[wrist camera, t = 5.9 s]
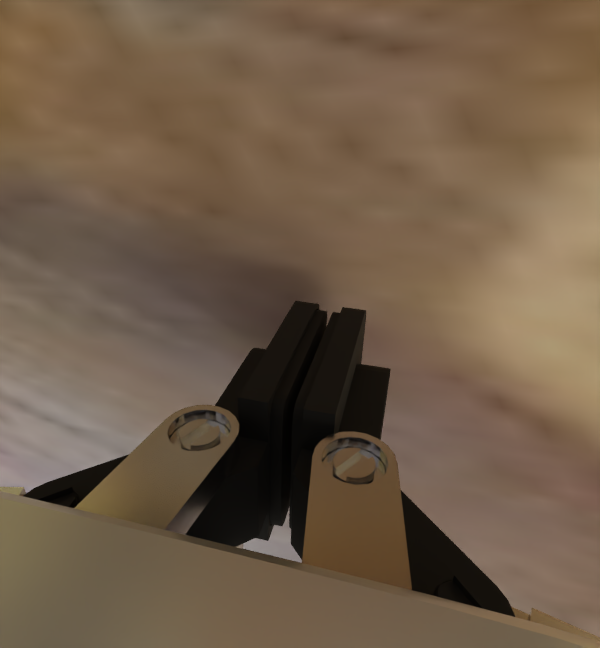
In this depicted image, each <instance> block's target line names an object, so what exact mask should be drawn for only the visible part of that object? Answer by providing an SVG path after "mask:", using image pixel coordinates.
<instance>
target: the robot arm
mask: <svg viewBox="0 0 600 648" xmlns="http://www.w3.org/2000/svg"><path fill="white" fill-rule="evenodd" d="M365 322H366V310H359V309H352V308H344V307H343V308H342V310H341V313H336V312H333V313H332V315H331V318H330V320H329V323H328V325H327V327H326V324H327V311H321V310H320V309H319V304H314V303H307V302H299V301H295V302H294V304H293V306H292V307H291V309H290V311H289V312H288V314H287V316H286V318H285V319H284V321H283V323H282V324H281V326H280V328H279V329H278V331H277V333H276V334H275V336H274V338H273V339H272V341H271V343H270V344H269V346H268V348H267V349H259V348H253V349H252V350H251V351H250V353H249V354H248V356H247V357H246V359H245V360H244V362H243V363H242V365H241V366H240V368H239V369H238V371H237V373H236V374H235V376H234V377H233V379H232V380H231V382H230V383H229V385H228V386H227V388H226V389H225V391H224V393H223V394H222V396H221V397H220V399H219V400H218V402H217V403H216V405H215V406H212V405H196V406H192V407H187V408H184V409H182V410H179V411H177V412H175V413H173V414H172V415H171V416H169V417H168V418H167V419H166V420H165V421H164V422H162V423H161V424H160V425H159V426H158V427H157V428H156V429H155V430H154V431H153V432H152V433H151V434H150V435H149V436H148V437H147V438H146V439H145V440H144V441H143V442H142V443H141V444H140V445H139V446H138V447H137V448H136V449H135V450H134V451H133V452H132V453H131V454H129V455H126V456H123V457H120V458H117V459H114V460H112V461H109V462H106V463H103V464H100V465H97V466H94V467H91V468H88V469H85V470H82V471H79V472H76V473H73V474H70V475H67V476H65V477H62V478H59V479H56V480H53V481H50V482H47V483H45V484H43V485H40V486H38V487H36V488H34V489H32V490H31V491H30V492H28V493H27V494H26V492H25V489H24V487H0V648H600V637H597V636H595V635H593V634H590V633H588V632H586V631H584V630H581V629H579V628H577V627H575V626H572V625H570V624H568V623H566V622H563V621H561V620H559V619H557V618H554V617H552V616H550V615H547V614H545V613H543V612H541V611H538V610H536V609H534V608H532V609H531V611H530V614H526V613H524V612H522V611H520V610H518V609H515V608H513V607H511V606H510V604H509V601H508V600H507V598H506V597H505V596H504V595H503V593H502V592H501V591H500V590H499V588H498V587H497V586H496V585H495V584H494V583H493V582H492V581H491V580H490V579H489V578H488V577H487V576H486V575H485V574H484V573H483V572H482V571H481V570H480V569H479V568H478V567H477V566H476V565H475V564H474V563H473V562H472V561H471V560H470V559H469V558H468V557H467V556H466V555H465V554H464V553H463V552H462V551H461V550H460V549H459V548H458V547H457V546H456V545H455V544H454V543H453V542H452V541H451V540H450V539H449V538H448V537H447V536H446V535H445V534H444V533H443V532H442V531H441V530H440V529H439V528H438V527H437V526H436V525H435V524H434V523H433V522H432V521H431V520H430V519H429V518H428V517H427V516H426V515H425V514H424V513H423V512H422V511H421V510H420V509H419V508H418V507H417V506H416V505H415V504H414V503H413V502H412V501H411V500H410V499H409V498H408V497H407V496H406V495H405V494H404V493H403V492H402V491H401V490H400V482H399V473H398V464H397V461H396V458H395V454H394V453H393V452H392V450H391V449H390V448H389V447H388V445H386V444H385V443H384V442H382V441H381V433H382V426H383V419H384V412H385V405H386V398H387V391H388V384H389V377H390V369H388V368H382V367H375V366H369V365H362V364H361V359H362V350H363V340H364V331H365ZM289 506H290V518H289V527H290V528H291V544H292V546H293V547H294V549H295V550H296V552H297V553H298V555H299V556H300V558H301V559H302V563H299V562H295V561H291V560H287V559H283V558H279V557H275V556H271V555H266V554H262V553H258V552H254V551H250V550H246V549H243V543H245V542H247V541H249V540H251V539H253V538H258V539H263V540H267V541H268V540H269V537H270V535H271V532H272V529H273V526H274V525H279V526H282V525H283V524H284V521H285V518H286V515H287V512H288V509H289Z"/></svg>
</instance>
